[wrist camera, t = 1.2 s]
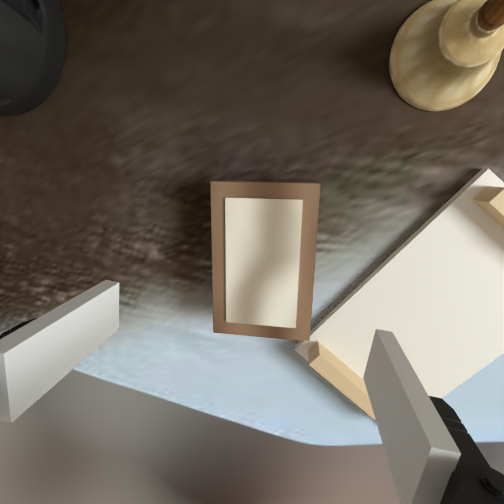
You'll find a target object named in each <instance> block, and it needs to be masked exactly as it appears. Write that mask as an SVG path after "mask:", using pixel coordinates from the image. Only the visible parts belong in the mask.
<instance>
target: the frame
mask: <svg viewBox="0 0 504 504" xmlns="http://www.w3.org/2000/svg"><path fill="white" fill-rule="evenodd" d="M319 196H320V183H319V182H307V181H255V180H219V181H211V232H212V284H213V332H214V333H225V334H235V335H246V336H257V337H267V338H278V339H289V340H300V341H310V328H311V313H312V299H313V284H314V269H315V255H316V240H317V225H318V211H319Z"/></svg>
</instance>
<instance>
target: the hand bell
mask: <svg viewBox="0 0 504 504" xmlns="http://www.w3.org/2000/svg"><path fill="white" fill-rule="evenodd" d="M503 48H504V0H432V1H430V2H428V3H426V4H424V5H423V6H421V7H420V8H418V9H417V10H416V11H415V12H414V13H413V14H412V15H411V16H410V17H409V18H408V19H407V20H406V21H405V22H404V24H403V25H402V26H401V28H400V30H399V31H398V33H397V35H396V37H395V39H394V42H393V45H392V48H391V52H390V59H389V71H390V76H391V80H392V83H393V85H394V87H395V89H396V91H397V93H398V94H399V95H400V97H401V98H402V99H404V100H405V101H406V102H407V103H408V104H410V105H412V106H413V107H416V108H418V109H422V110H426V111H443V110H448V109H452V108H455V107H457V106H459V105H461V104H463V103H465V102H467V101H468V100H470V99H471V98H473V97H474V96H475V95H476V94H478V93H479V92H480V91H481V90H482V89H483V88H484V86H485V85H486V84H487V83H488V81H489V80H490V78H491V77H492V75H493V73H494V71H495V69H496V67H497V65H498V62H499V59H500V55H501V51H502V49H503Z"/></svg>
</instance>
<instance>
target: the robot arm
mask: <svg viewBox="0 0 504 504" xmlns="http://www.w3.org/2000/svg"><path fill="white" fill-rule="evenodd" d="M65 49H66V33H65V24H64V18H63V13H62V10H61V6H60V3H59V0H0V115H7V116H9V115H18V114H22V113H25V112H28V111H30V110H32V109H34V108H35V107H37V106H38V105H40V104H41V103H42V102H43V101H44V100H45V99H46V98H47V97H48V96H49V94H50V93H51V92H52V90H53V89H54V87H55V85H56V83H57V81H58V79H59V76H60V74H61V71H62V67H63V63H64V58H65ZM118 329H119V282H114V281H109V280H105V281H103V282H101V283H99V284H98V285H96V286H94V287H92V288H90V289H89V290H87V291H85V292H83V293H82V294H80V295H78V296H76V297H74V298H73V299H71V300H69V301H67V302H66V303H64V304H62V305H60V306H58V307H57V308H55V309H53V310H51V311H50V312H48V313H46V314H44V315H42V316H41V317H39V318H35V319H32V320H29V321H26V322H23V323H21V324H19V325H17V326H15V327H13V328H11V330H8V331H6V332H4V333H2V334H1V336H0V420H1V421H5V422H9V423H12V422H13V421H14V420H15V419H16V418H17V417H18V416H20V415H21V414H22V413H23V412H24V411H25V410H27V409H28V408H29V407H30V406H31V405H32V404H33V403H35V402H36V401H37V400H38V399H39V398H40V397H42V396H43V395H44V394H45V393H46V392H47V391H48V390H50V389H51V388H52V387H53V386H54V385H55V384H56V383H58V382H59V381H60V380H61V379H62V378H63V377H64V376H66V375H67V374H68V373H69V372H70V371H71V370H72V369H74V368H75V367H76V366H77V365H78V364H79V363H81V362H82V361H83V360H84V359H85V358H86V357H87V356H89V355H90V354H91V353H92V352H93V351H94V350H95V349H97V348H98V347H99V346H100V345H101V344H102V343H103V342H105V341H106V340H107V339H108V338H109V337H110V336H111V335H113V334H114V333H115V332H116V331H117V330H118ZM363 379H364V382H365V386H366V389H367V392H368V396H369V399H370V402H371V406H372V409H373V412H374V416H375V419H376V422H377V426H378V429H379V432H380V436H381V439H382V442H383V446H384V449H385V452H386V456H387V459H388V462H389V466H390V469H391V472H392V476H393V479H394V482H395V486H396V489H397V493H398V496H399V499H400V502H401V504H504V475H503V474H502V473H500V472H498V471H496V470H494V469H492V468H490V466H489V464H488V463H487V461H486V460H485V458H484V457H483V455H482V453H481V452H480V450H479V449H478V447H477V446H476V444H475V442H474V441H473V439H472V438H471V436H470V434H468V433H467V430H466V428H465V427H464V425H463V424H461V420H460V419H459V417H458V416H457V414H456V412H455V411H454V409H452V408H451V407H450V406H449V405H448V404H447V403H446V402H445V401H444V400H443V399H442V398H438V397H433V396H428V394H427V392H426V391H425V389H424V387H423V385H422V383H421V382H420V380H419V378H418V376H417V375H416V373H415V371H414V369H413V367H412V366H411V364H410V362H409V360H408V359H407V357H406V355H405V353H404V352H403V350H402V348H401V346H400V344H399V343H398V341H397V339H396V337H395V336H394V334H393V332H391V331H385V330H380V329H376V330H375V334H374V338H373V342H372V345H371V349H370V353H369V357H368V361H367V365H366V369H365V373H364V376H363Z"/></svg>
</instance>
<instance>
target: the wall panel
mask: <svg viewBox="0 0 504 504" xmlns="http://www.w3.org/2000/svg"><path fill="white" fill-rule="evenodd" d="M376 329H380V330H385V331H391V332H393V334H394V336H395V337H396V339H397V341H398V343H399V344H400V346H401V348H402V350H403V352H404V353H405V355H406V357H407V359H408V360H409V362H410V364H411V366H412V367H413V369H414V371H415V373H416V375H417V376H418V378H419V380H420V382H421V383H422V385H423V387H424V389H425V391H426V392H427V394H428V396H433V397H438V398H442V397H444V396H445V395H447V394H448V393H449V392H451V391H452V390H453V389H455V388H456V387H458V386H459V385H460V384H462V383H463V382H464V381H466V380H467V379H469V378H470V377H471V376H473V375H474V374H475V373H477V372H478V371H480V370H481V369H482V368H484V367H485V366H486V365H488V364H489V363H491V362H492V361H493V360H495V359H496V358H497V357H499V356H500V355H502V354H503V353H504V182H503V181H502V180H500V179H499V178H498V177H497V176H496V175H495V174H494V173H493V172H492V171H491V170H489V169H481V170H480V171H479V172H478V173H477V174H476V175H475V176H474V177H473V178H472V179H471V180H470V181H469V182H467V183H466V184H465V185H464V186H463V187H462V188H461V189H460V190H459V191H458V192H457V193H456V194H455V195H454V196H453V197H452V198H451V199H449V200H448V201H447V202H446V203H445V204H444V205H443V206H442V207H441V208H440V209H439V210H438V211H437V212H436V213H435V214H434V215H433V216H431V217H430V218H429V219H428V220H427V221H426V222H425V223H424V224H423V225H422V226H421V227H420V228H419V229H418V230H417V231H416V232H415V233H413V234H412V235H411V236H410V237H409V238H408V239H407V240H406V241H405V242H404V243H403V244H402V245H401V246H400V247H399V248H398V249H396V250H395V251H394V252H393V253H392V254H391V255H390V256H389V257H388V258H387V259H386V260H385V261H384V262H383V263H382V264H381V265H380V266H378V267H377V268H376V269H375V270H374V271H373V272H372V273H371V274H370V275H369V276H368V277H367V278H366V279H365V280H364V281H363V282H362V283H360V284H359V285H358V286H357V287H356V288H355V289H354V290H353V291H352V292H351V293H350V294H349V295H348V296H347V297H346V298H345V299H344V300H342V301H341V302H340V303H339V304H338V305H337V306H336V307H335V308H334V309H333V310H332V311H331V312H330V313H329V314H328V315H327V316H326V317H324V318H323V319H322V320H321V321H320V322H319V323H318V324H317V325H316V326H315V327H314V328H313V329H312V330H311V331H310V341H299V342H298V343H297V344H296V345H295V351H296V352H297V353H298V354H299V355H301V356H302V357H303V358H304V359H305V360H307V361H308V362H309V365H310V366H311V367H312V368H313V369H315V370H316V371H317V372H318V373H319V374H320V375H322V376H323V377H324V378H325V379H326V380H328V381H329V382H330V383H331V384H332V385H334V386H335V387H336V388H337V389H338V390H339V391H341V392H342V393H343V394H344V395H345V396H347V397H348V398H349V399H350V400H351V401H353V402H354V403H355V404H356V405H357V406H358V407H360V408H361V409H362V410H363V411H364V412H366V413H367V414H368V415H369V416H370V417H372V418H373V419H374V420H375V421H376V419H375V416H374V412H373V409H372V406H371V402H370V399H369V396H368V392H367V389H366V386H365V382H364V379H363V376H364V373H365V369H366V365H367V361H368V357H369V353H370V349H371V345H372V342H373V338H374V334H375V330H376Z"/></svg>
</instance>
